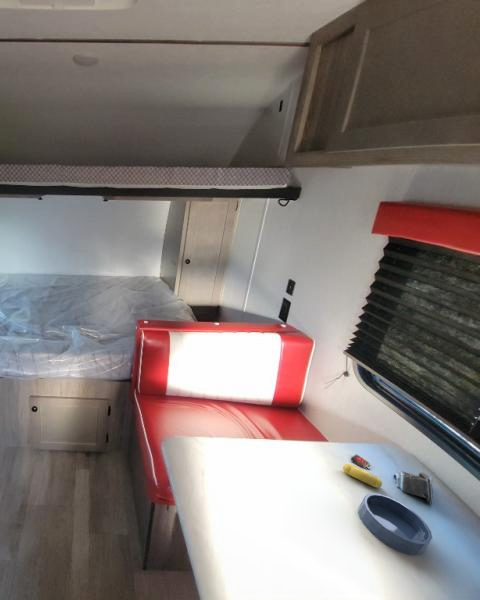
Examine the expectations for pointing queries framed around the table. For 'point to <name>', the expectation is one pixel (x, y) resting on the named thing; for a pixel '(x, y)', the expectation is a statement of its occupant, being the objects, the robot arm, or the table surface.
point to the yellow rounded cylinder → (362, 475)
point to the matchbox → (360, 461)
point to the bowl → (394, 524)
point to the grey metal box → (416, 484)
